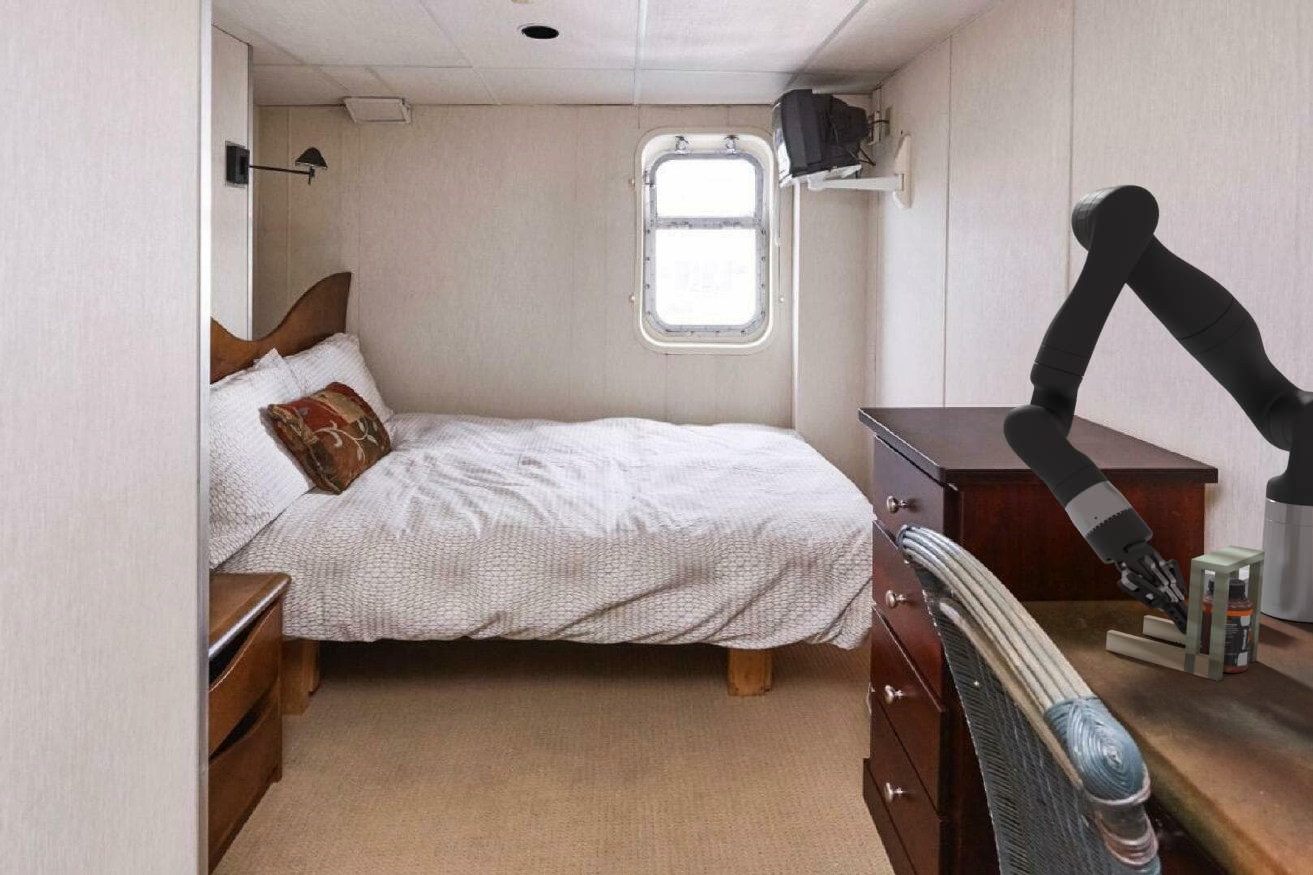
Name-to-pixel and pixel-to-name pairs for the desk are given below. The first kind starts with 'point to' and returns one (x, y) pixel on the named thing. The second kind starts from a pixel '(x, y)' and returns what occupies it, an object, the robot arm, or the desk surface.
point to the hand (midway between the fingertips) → (1193, 630)
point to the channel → (1199, 617)
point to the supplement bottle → (1230, 626)
